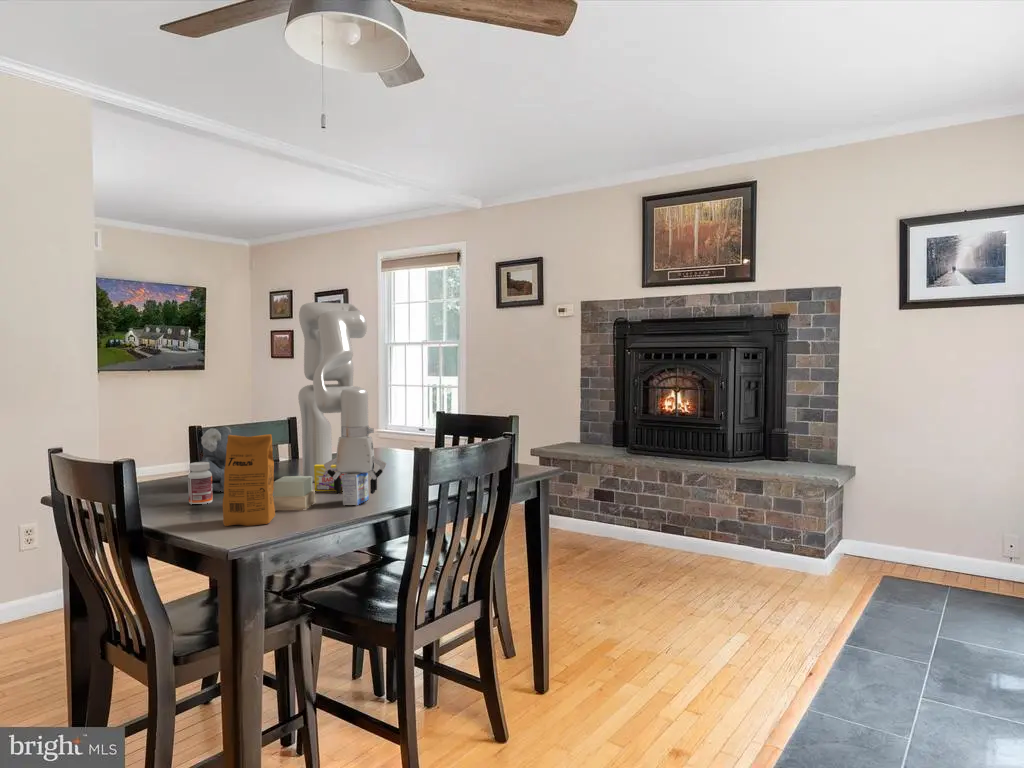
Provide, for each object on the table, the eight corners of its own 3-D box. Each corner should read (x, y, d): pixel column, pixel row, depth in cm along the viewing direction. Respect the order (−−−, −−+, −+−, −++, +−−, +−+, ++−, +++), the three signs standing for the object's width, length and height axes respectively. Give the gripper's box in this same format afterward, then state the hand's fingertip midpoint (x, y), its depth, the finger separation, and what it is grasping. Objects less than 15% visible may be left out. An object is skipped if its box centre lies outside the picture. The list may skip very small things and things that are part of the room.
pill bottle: (217, 502, 195) (216, 462, 194) (197, 506, 190) (196, 465, 189) (204, 499, 198) (203, 460, 198) (184, 503, 193) (183, 463, 193)
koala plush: (236, 493, 207) (235, 429, 206) (177, 493, 207) (175, 429, 206) (258, 482, 225) (256, 423, 224) (203, 482, 225) (201, 423, 224)
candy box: (313, 492, 209) (313, 465, 208) (316, 491, 211) (315, 464, 210) (366, 492, 208) (366, 465, 207) (368, 491, 210) (368, 464, 209)
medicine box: (357, 506, 189) (356, 475, 189) (342, 505, 190) (341, 474, 189) (368, 500, 197) (368, 470, 196) (354, 499, 198) (353, 469, 197)
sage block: (284, 490, 193) (283, 476, 193) (312, 490, 193) (312, 476, 193) (274, 496, 185) (273, 481, 185) (303, 496, 185) (303, 481, 185)
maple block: (283, 504, 194) (283, 490, 194) (315, 504, 194) (314, 490, 193) (272, 511, 185) (271, 497, 185) (305, 511, 185) (305, 497, 184)
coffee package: (230, 517, 177) (228, 432, 176) (280, 516, 178) (278, 431, 177) (216, 527, 167) (214, 437, 166) (269, 526, 168) (267, 436, 167)
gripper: (388, 430, 196) (388, 490, 197) (327, 431, 196) (328, 490, 197) (383, 433, 189) (384, 495, 189) (320, 434, 189) (321, 495, 189)
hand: (355, 492), depth 193 cm, fingers open, 9 cm apart
